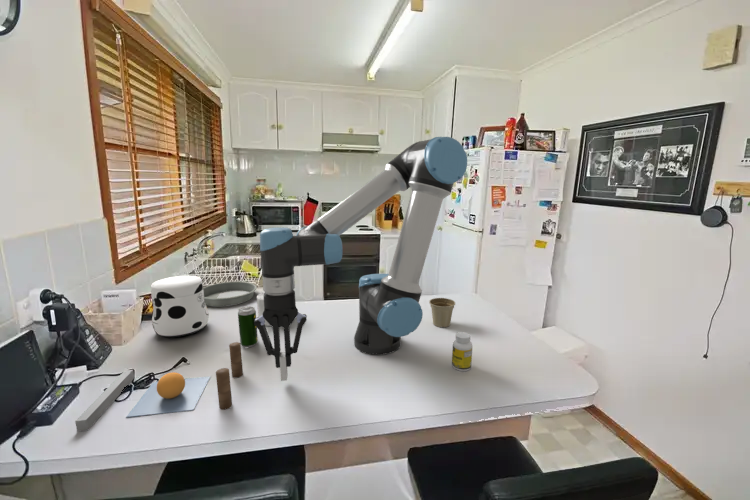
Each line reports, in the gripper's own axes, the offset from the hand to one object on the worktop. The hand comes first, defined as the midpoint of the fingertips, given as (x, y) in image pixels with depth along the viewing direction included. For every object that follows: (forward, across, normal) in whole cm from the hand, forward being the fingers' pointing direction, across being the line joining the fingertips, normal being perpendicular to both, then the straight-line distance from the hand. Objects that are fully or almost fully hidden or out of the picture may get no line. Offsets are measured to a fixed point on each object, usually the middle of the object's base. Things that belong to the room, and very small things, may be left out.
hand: (284, 377), depth 90 cm
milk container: (+2, -38, +40) cm, 55 cm away
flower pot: (+2, +54, +29) cm, 61 cm away
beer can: (+2, -13, +25) cm, 28 cm away
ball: (-1, -27, 0) cm, 27 cm away
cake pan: (+3, -30, +73) cm, 79 cm away
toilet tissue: (+2, -7, +44) cm, 45 cm away
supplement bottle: (+2, +49, 0) cm, 49 cm away
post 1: (+2, -13, -7) cm, 15 cm away
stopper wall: (+2, -41, 0) cm, 41 cm away
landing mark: (+2, -27, 0) cm, 27 cm away
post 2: (+2, -13, +7) cm, 15 cm away
